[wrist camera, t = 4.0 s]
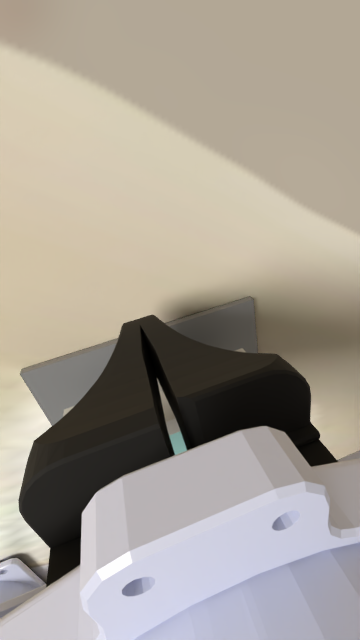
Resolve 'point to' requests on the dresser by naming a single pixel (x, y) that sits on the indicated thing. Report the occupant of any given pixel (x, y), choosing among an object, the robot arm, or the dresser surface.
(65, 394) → the dock
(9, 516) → the dresser surface
